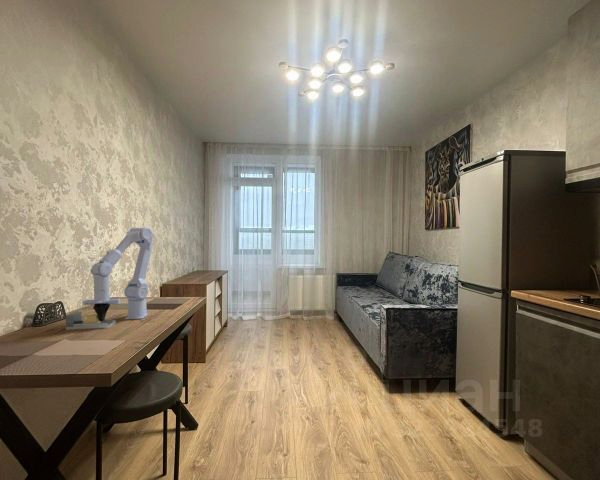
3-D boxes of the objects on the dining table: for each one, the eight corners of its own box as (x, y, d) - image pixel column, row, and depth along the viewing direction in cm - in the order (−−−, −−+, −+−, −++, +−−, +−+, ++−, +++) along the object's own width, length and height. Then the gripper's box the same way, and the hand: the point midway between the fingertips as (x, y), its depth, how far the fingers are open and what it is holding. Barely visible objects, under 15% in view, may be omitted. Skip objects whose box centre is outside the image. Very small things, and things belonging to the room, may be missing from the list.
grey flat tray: (76, 324, 143) (76, 319, 143) (116, 322, 146) (116, 317, 146) (65, 329, 135) (65, 324, 135) (107, 327, 137) (107, 322, 137)
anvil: (74, 323, 141) (74, 312, 141) (81, 323, 141) (81, 311, 141) (65, 327, 135) (65, 315, 135) (73, 327, 135) (73, 315, 135)
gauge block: (88, 322, 141) (88, 313, 141) (100, 322, 142) (100, 313, 142) (82, 325, 136) (82, 316, 136) (95, 325, 137) (95, 315, 137)
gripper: (78, 292, 134) (79, 324, 134) (115, 290, 137) (115, 322, 137) (87, 289, 141) (87, 319, 141) (122, 288, 144) (122, 318, 144)
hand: (101, 320), depth 140 cm, fingers closed
